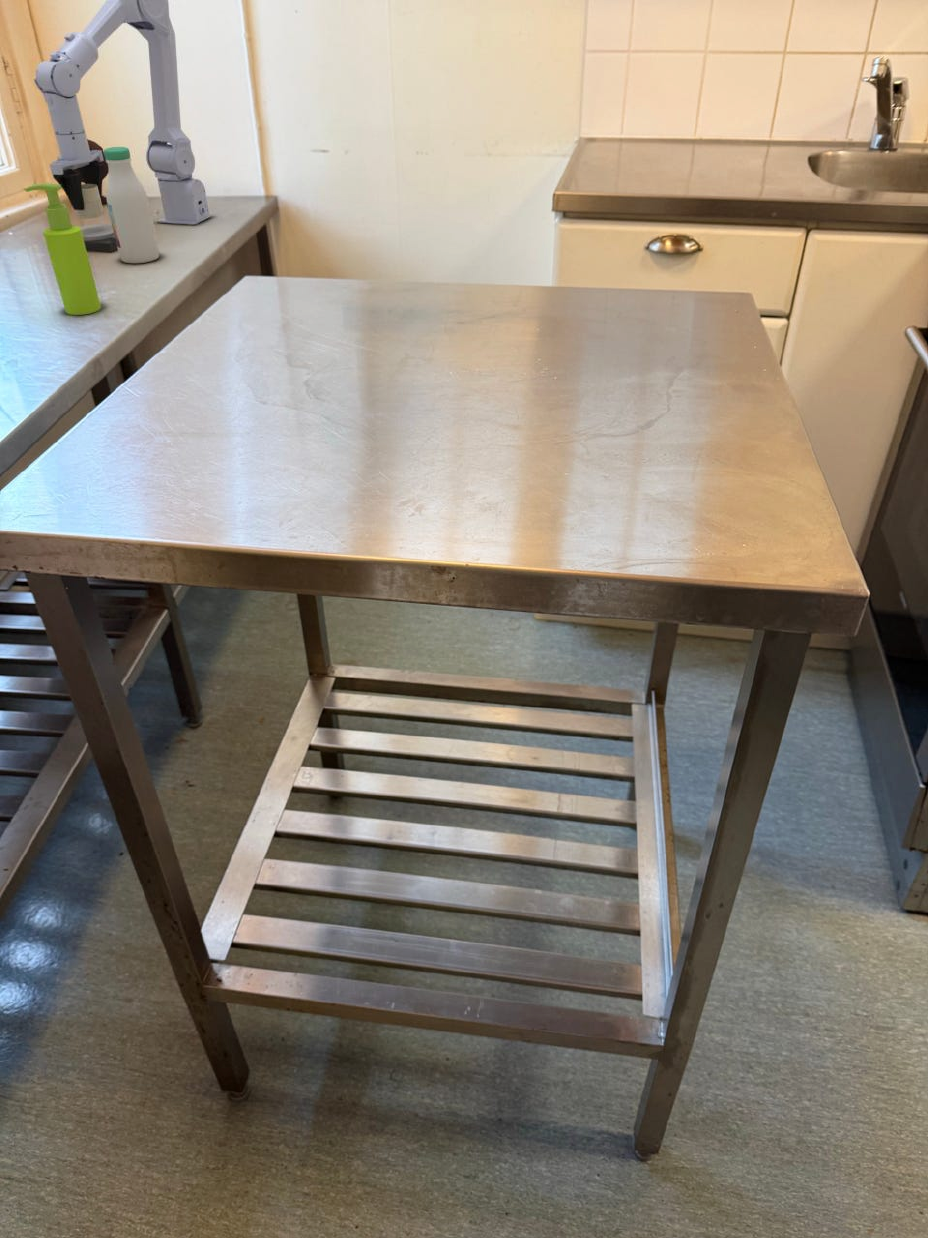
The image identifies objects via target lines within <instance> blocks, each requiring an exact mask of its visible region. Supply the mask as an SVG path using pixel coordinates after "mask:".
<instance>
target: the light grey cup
mask: <svg viewBox="0 0 928 1238" xmlns="http://www.w3.org/2000/svg"><path fill="white" fill-rule="evenodd" d="M81 185H82V195H83V201H84V210H74V209H73V211H74V214H75V215H74V216H75V217H76V218H77V219H95V218H100V217H103V216H104V215H105V211H104V207H103V204H102V203H101V199H100V194H99V190H98V186H97V185H96V184H85V183H81Z"/></svg>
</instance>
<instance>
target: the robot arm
mask: <svg viewBox="0 0 928 1238" xmlns="http://www.w3.org/2000/svg"><path fill="white" fill-rule="evenodd" d="M169 6H170V5H169V0H106V1H105V2H104V3H103V4H102V6H101V7H100V8H99V9H98V11H97V13H95V15H94V17H93V18H92V19H91V20H90V22H89V23H88V25H86V27H85V28H84V30H83V31H82V32H79V31H73V32H72V33H71V32H67V33H66V34H65V35H64V37H63V38H64V40H65V41H64V42H63V43H62V44H61V45H60V47H59V48H57V50H56V51H52V52H51V53H50V55H49V56H50V58H49V60H43V61H41V62H40V63H39V64H38V65H37V67H36V71H35V78H34V79H33V82H34V84H35V86H36V88H37V89H38V90H39V91H40V93H41V94H42V95H43V98H44V102H45V103H46V106H47V109H48V113H49V117H50V121H51V124H52V129H53V132H54V136H55V139H56V144H57V147H58V152H59V154H60V155H58V156H56V160H55V161H53V162H50V163H49V167H50V172H51V175H52V177H53V179H54V181H56V182H57V184H60V185H61V187H62V188H61V189H62V190H63V192H64V193H65V195H66V197H67V199H68V201H69V202H70V204H71V206H72V208H73V211H74V210H84V201H83V195H82V185H81V184H83V182H82V178H83V180H84V182H85V183H84V184H96V185H97V186H98V190H99V194H100V199H101V203H102V196H103V180H104V179H103V175H104V172H105V164H101V163H98V161H99V162H101V161H104V160H103V155H102V151H101V150H92V151H90V150H89V146H88V141H87V139H88V137H87V134H86V129H85V125H84V121H83V117H82V113H81V109H80V105H79V100H78V97H77V94H78V93H79V92H80V90H81V80H82V79H83V77H84V76H85V75H86V74H87V73H88V72H89V70H90V69H91V68H92V67H93V65H94V64H95V63H96V62H97V61H98V60H99V50H98V48H100V47H101V46H102V45H103V44H104V42H106V40H108V39H109V37H111V36H112V35H113V33H115V32H116V31H117V30H118V29H119V28H120V27H121V26H122V25H123V24H127V25H128V26H130V27H132V28H134V29H135V30H136V31H138V33H139V34H140V35H141V36H142V37H143V38H144V39H145V40H146V41H147V46H148V58H149V72H150V73H149V74H150V87H151V88H150V89H151V99H152V114H153V123H154V124H153V128H152V130H151V131H150V132H149V134H148V136H147V149H146V151H145V160H146V165H147V166H148V167H149V169H150V170H151V171H152V172H153V173H154V176H155V178H157V183H158V189H159V193H160V199H161V203H162V208H163V214H164V216H163V217H162V218H160V219H158V220H157V222H158V223H163V224H174V225H175V224H178V225H191V226H192V225H193V226H194V225H195V226H196V225H197V224H199V223H201V222H203V221H205V220H207V219H210V218H212V214H210V211H209V205H208V200H207V194H206V189H205V186H204V184H203V182H202V180H200V179H198V178H194V177H193V173H194V172H195V168H196V157H195V155H194V153H193V150H192V144H191V139H190V138H189V137H188V136H187V135H186V133H185V132H184V131H183V130H182V125H181V111H180V92H179V77H178V61H177V60H178V59H177V46H176V45H177V44H176V43H177V42H176V34H175V29H174V27H173V23H172V21H171V17H170V7H169ZM76 168H77V169H78V170H79V172H80V174H79V173H75V172H73V169H76Z"/></svg>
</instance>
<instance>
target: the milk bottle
mask: <svg viewBox="0 0 928 1238" xmlns="http://www.w3.org/2000/svg"><path fill="white" fill-rule="evenodd" d="M103 152H104V155H105V158H106V162H107V163H108V167H109V173H108V175H107V181H106V186H105V187H106V188H105V197H106V198H107V203H106V204H107V208H108V213H109V218H110V223H111V225H112V227H113V231H114V235H115V240H116V244H117V248H118V249H117V251H118V256H119V259H120V261H122V262H123V263H127V264H144V263H148V262H153V261H155V260H157V259H159V258H160V250H159V246H158V240H157V235H156V230H155V226H154V220H153V216H152V212H151V208H150V203H149V200H148V195H147V192H146V190H145V188H144V186H143V184H142V182H141V181H140V179H139V178H138V176H137V175H136V173H135V171H134V169H133V166H132V163H131V162H132V159H131V151H130V148H128V147H126V146H112V147H107V148H104V149H103Z"/></svg>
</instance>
